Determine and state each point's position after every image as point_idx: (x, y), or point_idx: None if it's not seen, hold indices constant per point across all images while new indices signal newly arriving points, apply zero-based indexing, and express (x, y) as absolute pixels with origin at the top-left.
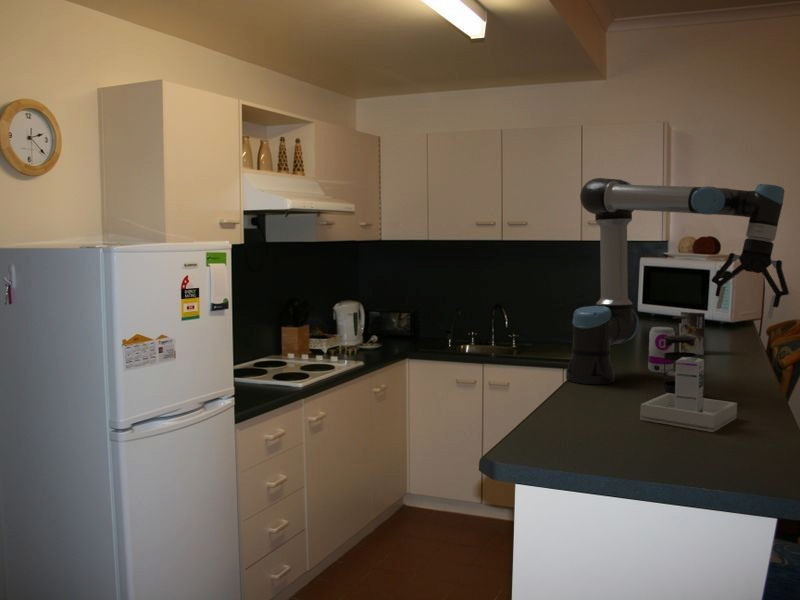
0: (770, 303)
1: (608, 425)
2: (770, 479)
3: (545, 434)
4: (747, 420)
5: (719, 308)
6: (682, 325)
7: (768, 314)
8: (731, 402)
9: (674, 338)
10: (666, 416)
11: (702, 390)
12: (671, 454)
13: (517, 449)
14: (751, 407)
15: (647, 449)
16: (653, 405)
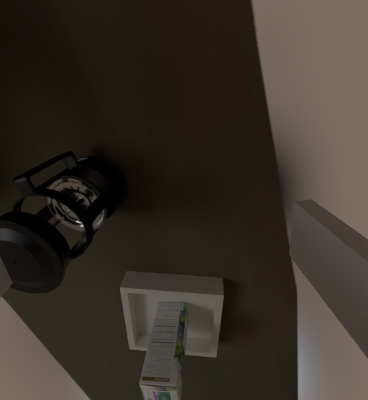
0: (351, 335)
1: (124, 357)
2: None
3: (105, 391)
4: (237, 279)
5: (8, 277)
6: None
7: (303, 269)
8: (216, 296)
9: (22, 284)
10: None
11: (184, 339)
12: (206, 395)
13: None
14: (226, 201)
15: (186, 392)
16: (143, 348)
